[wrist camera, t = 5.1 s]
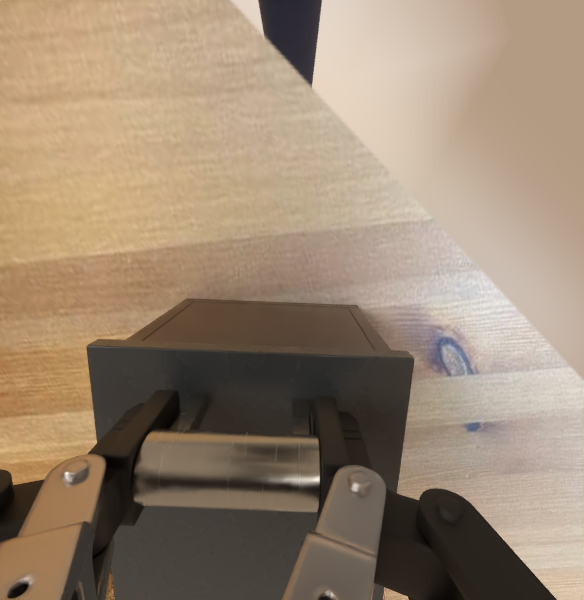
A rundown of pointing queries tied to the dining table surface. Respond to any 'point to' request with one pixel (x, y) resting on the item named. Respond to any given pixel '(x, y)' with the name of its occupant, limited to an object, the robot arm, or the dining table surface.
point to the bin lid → (236, 457)
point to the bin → (264, 325)
